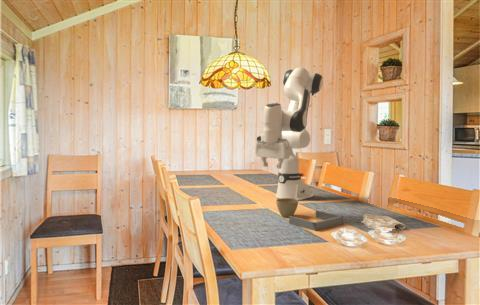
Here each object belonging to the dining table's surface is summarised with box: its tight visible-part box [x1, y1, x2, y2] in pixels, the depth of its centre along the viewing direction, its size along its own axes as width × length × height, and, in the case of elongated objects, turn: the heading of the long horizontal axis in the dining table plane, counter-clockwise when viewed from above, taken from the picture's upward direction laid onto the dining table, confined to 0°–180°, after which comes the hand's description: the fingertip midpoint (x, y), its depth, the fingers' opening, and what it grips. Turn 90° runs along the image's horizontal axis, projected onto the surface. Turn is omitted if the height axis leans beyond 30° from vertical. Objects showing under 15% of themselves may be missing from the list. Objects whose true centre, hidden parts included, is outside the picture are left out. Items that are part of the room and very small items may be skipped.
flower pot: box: [276, 198, 299, 218], centre depth 175 cm, size 10×10×7 cm
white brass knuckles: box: [360, 213, 406, 231], centre depth 158 cm, size 3×18×15 cm
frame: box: [288, 210, 344, 231], centre depth 162 cm, size 18×14×3 cm
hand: (272, 167), depth 181 cm, fingers open, 8 cm apart
